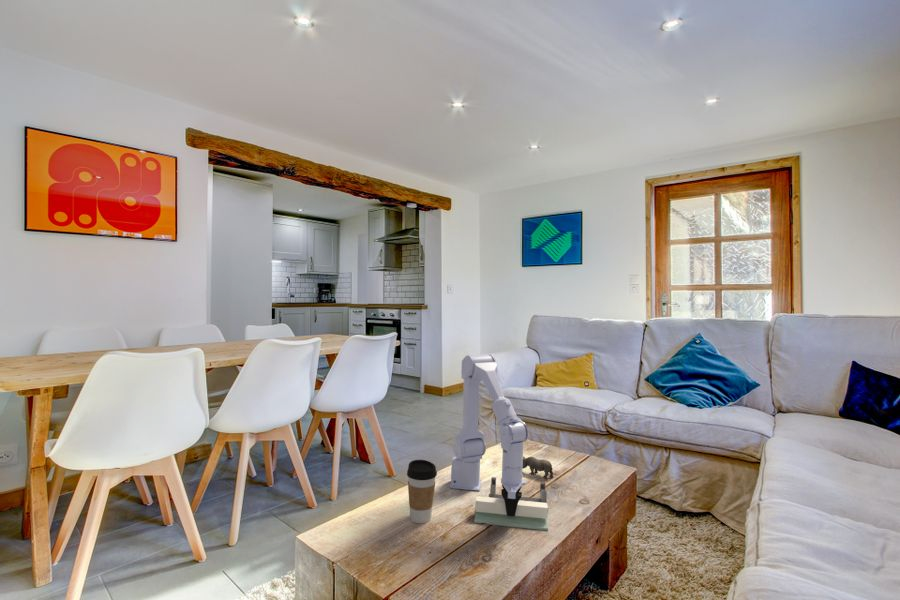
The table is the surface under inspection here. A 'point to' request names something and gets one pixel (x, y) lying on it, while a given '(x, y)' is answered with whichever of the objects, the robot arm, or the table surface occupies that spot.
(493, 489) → the rack
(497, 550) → the table surface
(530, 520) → the mat
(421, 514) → the coffee cup
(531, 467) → the rhino figurine
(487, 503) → the rail
